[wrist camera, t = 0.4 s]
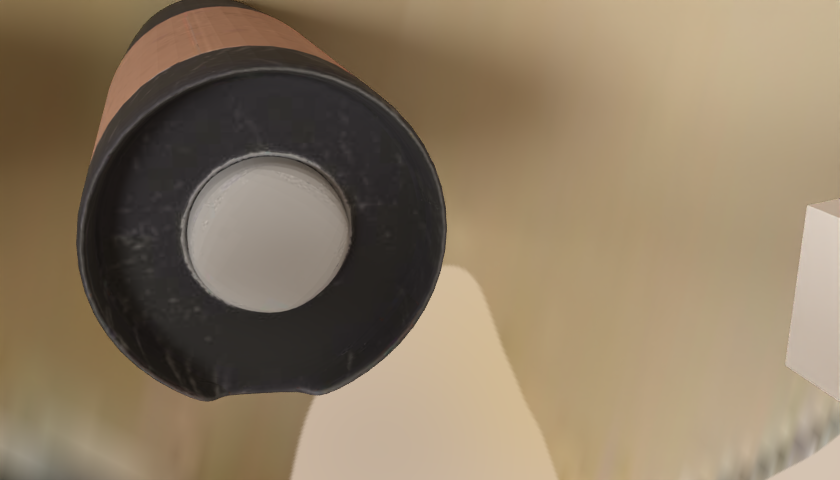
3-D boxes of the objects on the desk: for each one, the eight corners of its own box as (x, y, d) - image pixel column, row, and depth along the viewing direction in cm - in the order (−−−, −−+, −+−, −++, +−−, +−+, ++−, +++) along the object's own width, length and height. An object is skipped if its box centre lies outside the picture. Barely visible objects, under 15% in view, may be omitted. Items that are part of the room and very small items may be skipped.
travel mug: (217, -52, 32) (294, -34, 14) (336, 91, 35) (519, 251, 17) (76, 72, 32) (-30, 248, 14) (209, 202, 35) (261, 474, 17)
